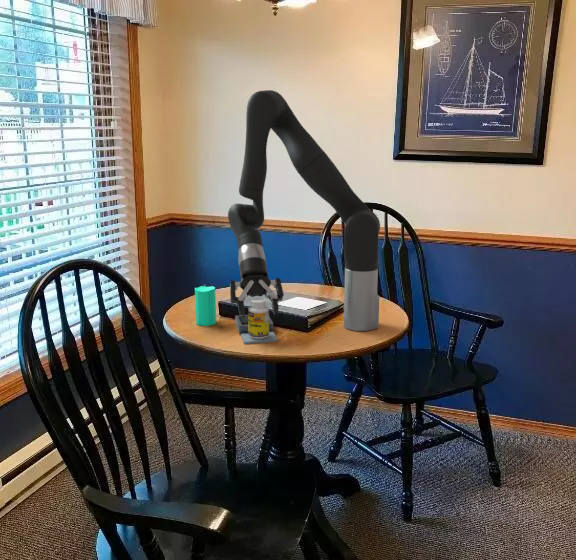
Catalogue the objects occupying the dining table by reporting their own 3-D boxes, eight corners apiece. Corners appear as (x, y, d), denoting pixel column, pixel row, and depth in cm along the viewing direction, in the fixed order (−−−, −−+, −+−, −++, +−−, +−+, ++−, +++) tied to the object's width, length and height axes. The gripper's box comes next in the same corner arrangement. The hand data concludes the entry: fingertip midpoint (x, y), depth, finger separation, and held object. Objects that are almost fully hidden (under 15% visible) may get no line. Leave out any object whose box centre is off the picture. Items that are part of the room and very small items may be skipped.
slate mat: (273, 333, 165) (273, 331, 164) (277, 341, 158) (277, 339, 158) (241, 335, 163) (241, 333, 163) (244, 344, 157) (244, 341, 156)
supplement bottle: (244, 337, 160) (243, 301, 157) (255, 331, 164) (255, 296, 162) (262, 341, 157) (261, 304, 154) (272, 335, 162) (272, 299, 159)
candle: (220, 321, 175) (219, 282, 172) (206, 327, 170) (205, 286, 167) (205, 318, 178) (204, 279, 175) (191, 323, 174) (189, 283, 171)
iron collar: (267, 321, 175) (267, 313, 174) (273, 332, 166) (273, 323, 165) (235, 323, 173) (235, 315, 172) (239, 334, 164) (239, 325, 163)
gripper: (227, 257, 161) (233, 309, 153) (279, 254, 164) (287, 306, 156) (226, 271, 167) (231, 322, 159) (275, 269, 170) (283, 319, 162)
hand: (259, 314), depth 157 cm, fingers open, 8 cm apart
